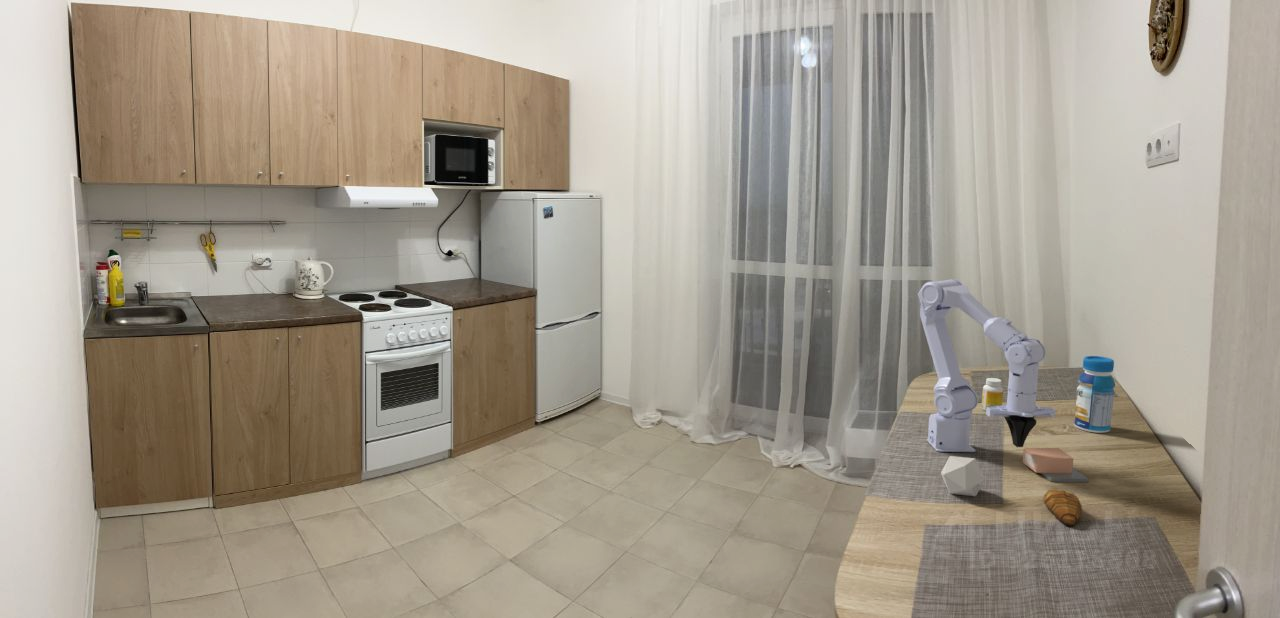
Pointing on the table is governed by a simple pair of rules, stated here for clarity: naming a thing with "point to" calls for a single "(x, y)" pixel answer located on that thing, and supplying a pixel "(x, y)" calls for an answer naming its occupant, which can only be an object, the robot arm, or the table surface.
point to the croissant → (1063, 506)
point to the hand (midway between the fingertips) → (1017, 445)
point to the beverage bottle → (1095, 395)
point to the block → (1048, 460)
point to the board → (1065, 477)
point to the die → (962, 476)
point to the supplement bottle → (992, 393)
